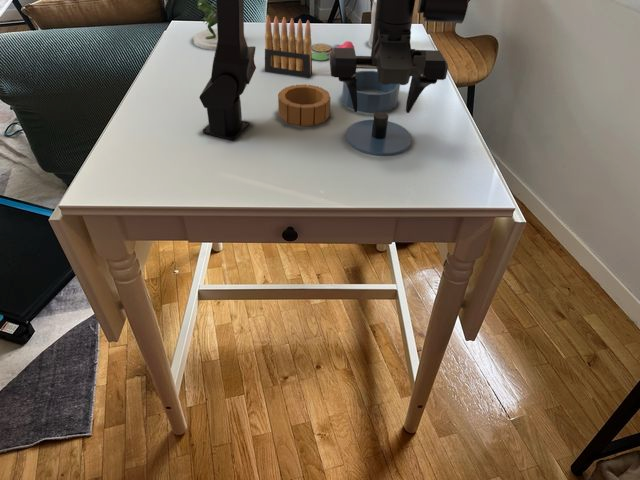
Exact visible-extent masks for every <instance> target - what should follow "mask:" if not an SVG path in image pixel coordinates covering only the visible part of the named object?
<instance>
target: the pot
mask: <svg viewBox="0 0 640 480" xmlns="http://www.w3.org/2000/svg"><path fill="white" fill-rule="evenodd" d="M356 77H357V112H360V113H365V114H375V113H377V112H383V113H386V112H389V111H391V110H394V109H395V108H396V106H397V104H398V101H399V94H400V87H401V85H400V84H388V85H383V84H381V83H379V81H378V73H377V70H357V71H356ZM361 90H373V91H377V92H380V93H375V92H374V93H371V92H364V91H361ZM341 99H342V103H343V104H344V105H345V106H346V107H347V108H350V109H351V110H353V111H354V108H353V104H352V100H351V96H350V92H349V89H348V87H347V85H346V83H345V82H342V94H341Z"/></svg>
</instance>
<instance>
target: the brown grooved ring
mask: <svg viewBox="0 0 640 480" xmlns="http://www.w3.org/2000/svg"><path fill="white" fill-rule="evenodd" d="M277 104H278V105H277V106H278V112H277V113H278V116H279V118H280V119H281V120H282V121H284V122H286V123H288V124H290V125H294V126H301V127H307V126H316V125H320V124H322V123H325V122H326V121H327V120H328V119H329V117H330V115H331V95H330V92H329V91H328V90H326V89H324V88H323V87H321V86H317V85H313V84H308V85H307V84H295V85H294V84H293V85H290V86H285V87H284V88H282V89H281V90H280V91H279V92H278V94H277Z"/></svg>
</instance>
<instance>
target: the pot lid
mask: <svg viewBox="0 0 640 480" xmlns="http://www.w3.org/2000/svg"><path fill="white" fill-rule="evenodd" d="M389 118H390V117H389V114H388V113H386V112H377V113H373V118H372V119H365V120H359V121H357V122H354V123H353V124H351V125H349V126H348V127H347V129H346V131H345V140H346V142H347V143H348V145H349V146H350V147H352V148H353V149H355V150H357V151H359V152H361V153H364V154H368V155H371V156H372V155H373V156H381V157H383V156H384V157H385V156H394V155H395V156H396V155H398V154H401V153H403V152H405V151H406V150H408V149H409V148H410V147H411V144H412V141H413V140H412V139H413V137H412V135H411V133H410V132H409V130H408V129H407V128H405V127H404V126H402V125H400V124H398V123H396V122H393V121H390V120H389Z"/></svg>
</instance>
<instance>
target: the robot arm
mask: <svg viewBox="0 0 640 480" xmlns="http://www.w3.org/2000/svg"><path fill="white" fill-rule="evenodd" d="M244 3H245V2H244V0H215V5H216V6H215V7H216V8H215V11H216V12H217V24H216V29H217V33H218V41H217V46H216V50H214V51H215V52H214V55H213V60H212V67H211V76H210V78H209V80H208V82H207V83H206V85H205V86H204V88H203V90H202V92H201V93H200V95H199V97H198V98H199V100H200V102H201V104H202V106H203V108H204V109H206V113H207V120H208V125H206V126H205V127H204V128H203V129H202V133H203V134H205V135H209V136H214V137H216V138H217V137H218V138H222V139H224V140H225V139H226V140H229V141H234V140H236V139H237V138H238V137H239V136H240V135H241V134H242V133H243V132H244V131H245V130H246V129H247V128H248V127H249V126H250V122H249V121H246V120H243V114H242V102H241V95H243V93H244V91H245V89H246V88H247V86H248V85H250V82H251V80H252V78H253V76H254V74H255V71H256V69H257V66H256V63H255V55H256V48H257V47H256V46H255V45H253V46H252V45H251V46H248V44H247V41H246V38H245V16H244V15H245V8H244V7H245V6H244V5H245V4H244ZM415 3H416V0H377V4H376V14H375V23H374V32H373V42H372V47H371V52H370V55H357V54H356V50H355V47H354V48H334V47H333V48H331V50H332V51H331V50H330V51H331V52H330V51H329V52H330V53H329V68H330V76H331V77H333V78H338V81H339V82H342V83H343V82H345V83H346V85H347V87H348V89H349V92H350V96H351V100H352V104H353V108H354V110H353V112H354V113H357V112H358V111H357V91H358V90H357V77H356V72H357V69H363V70H376V71H377V73H378V81H379V83H381V84H383V85H388V84H400V86H406V85H408V84H409V82H410V84H409V88H408V92H407V93H408V94H407V98H406V104H405V112H406V114H410V112H411V111H412V109H413V107H414V105H415V104H416V102H417V101H418V99H419V97H420V96H421V94H422V93H423V91H424V90H425V88H427V87H429V86H430V85H435V84H437V82H438V81H444V80H446V79H447V74H448V70H449V64H448V62H447V59H446V58H445V56H444V54H443V53H442V52H441V50H437V49H436V50H435V49H434V50H433V49H416V48H412V45H411V38H412V37H411V34H412V24H413V19H414V17H413V16H414V11H415V5H416V4H415ZM468 7H469V2H468V0H418V3H417V14H419V15H421V14H422V18H423V21H424V22H431V23H446V24H461V25H462V24H463V22H464V20H465V18H466V15H467V11H468ZM410 79H411V80H410Z"/></svg>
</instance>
